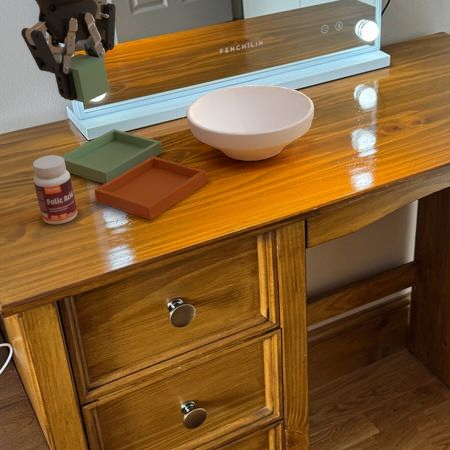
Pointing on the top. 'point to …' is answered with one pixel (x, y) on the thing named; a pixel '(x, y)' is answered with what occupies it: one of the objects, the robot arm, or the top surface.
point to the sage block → (89, 77)
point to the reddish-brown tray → (151, 187)
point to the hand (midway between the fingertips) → (84, 91)
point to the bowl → (250, 120)
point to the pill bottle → (54, 190)
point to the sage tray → (110, 155)
